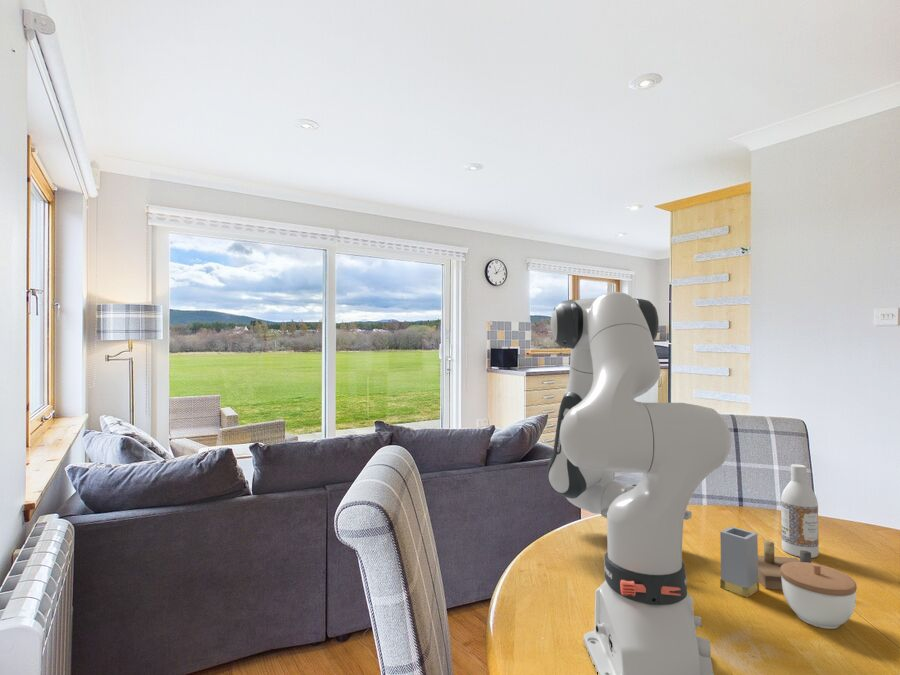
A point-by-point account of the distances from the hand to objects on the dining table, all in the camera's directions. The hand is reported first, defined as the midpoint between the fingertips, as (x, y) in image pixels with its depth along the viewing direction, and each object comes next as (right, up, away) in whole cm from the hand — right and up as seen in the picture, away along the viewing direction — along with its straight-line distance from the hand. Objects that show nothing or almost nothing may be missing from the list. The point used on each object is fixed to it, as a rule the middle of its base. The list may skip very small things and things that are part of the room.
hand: (678, 520), depth 108 cm
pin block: (+18, -10, -6) cm, 22 cm away
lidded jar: (+15, -10, -21) cm, 27 cm away
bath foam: (+31, -10, +6) cm, 33 cm away
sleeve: (+7, -10, -10) cm, 16 cm away
